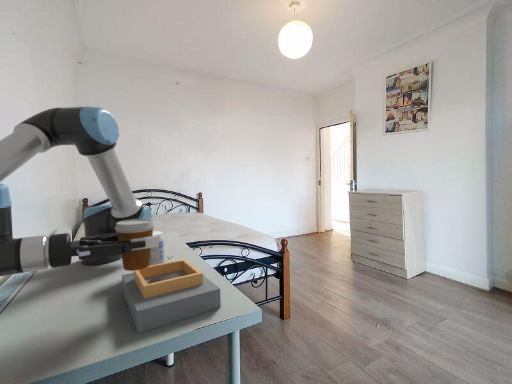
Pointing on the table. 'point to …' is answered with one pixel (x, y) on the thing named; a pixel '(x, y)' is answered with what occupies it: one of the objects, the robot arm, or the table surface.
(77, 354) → the table surface
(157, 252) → the supplement tub
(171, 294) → the grey platform
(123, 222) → the disposable coffee cup
